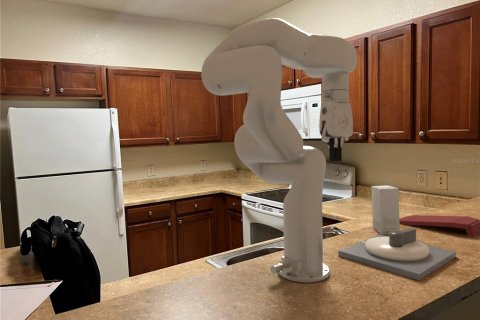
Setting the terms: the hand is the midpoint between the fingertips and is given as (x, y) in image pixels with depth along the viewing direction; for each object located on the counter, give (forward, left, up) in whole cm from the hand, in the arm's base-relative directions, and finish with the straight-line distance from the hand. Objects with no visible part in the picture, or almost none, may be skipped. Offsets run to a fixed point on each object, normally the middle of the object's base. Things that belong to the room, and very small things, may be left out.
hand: (335, 160), depth 100 cm
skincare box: (+27, -1, -27) cm, 38 cm away
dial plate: (+7, -15, -26) cm, 31 cm away
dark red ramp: (+45, -11, -27) cm, 53 cm away
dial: (+7, -15, -25) cm, 30 cm away
